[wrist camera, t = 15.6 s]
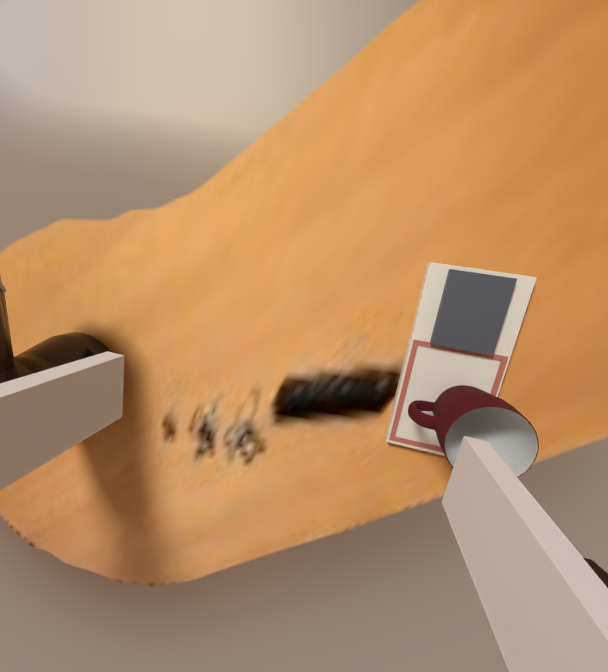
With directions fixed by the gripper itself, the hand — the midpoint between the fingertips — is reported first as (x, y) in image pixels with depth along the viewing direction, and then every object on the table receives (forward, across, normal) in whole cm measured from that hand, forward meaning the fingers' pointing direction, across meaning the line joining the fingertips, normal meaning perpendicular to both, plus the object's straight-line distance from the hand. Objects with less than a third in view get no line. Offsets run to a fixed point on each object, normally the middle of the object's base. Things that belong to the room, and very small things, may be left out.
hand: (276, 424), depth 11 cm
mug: (+27, +16, -7) cm, 33 cm away
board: (+28, +16, -3) cm, 33 cm away
